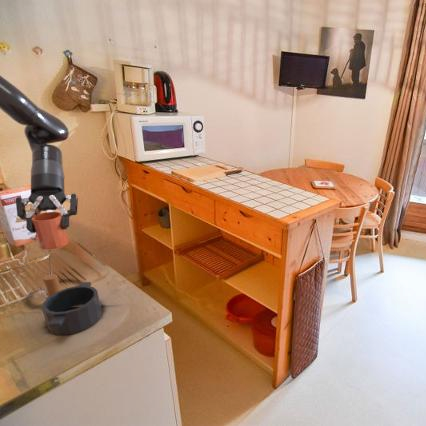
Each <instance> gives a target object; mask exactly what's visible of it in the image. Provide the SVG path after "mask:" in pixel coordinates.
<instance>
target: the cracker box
mask: <svg viewBox="0 0 426 426" xmlns="http://www.w3.org/2000/svg"><path fill="white" fill-rule="evenodd" d="M30 195H31V184H30V185H23V186H19V187H13V188H9V189H8V188H7V189H4V190H0V222H1V227H2V229H3V231H4V234H5V237H6V240H7V243H8V244H10V245H11V246H13V247H15V248H16V247H17V248H18V247H20V246H24V245H26V244H29V243H32V242H35V241H38V239H37V236H36V232H35V233H31V232H30V231H28V230H27V228H26V220H22V219H21V218H20V217H18V216H17V208H16V198H17V197H20V198H21V199H23V198H29V196H30ZM32 205H33V204H32V203H31V202H29V203H28V205H27V206H25V210H26V214H27V213H28V212H29V211H30V208H31V206H32ZM46 212H54V210H47V211H41V213H46ZM41 213H40V214H41Z"/></svg>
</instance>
